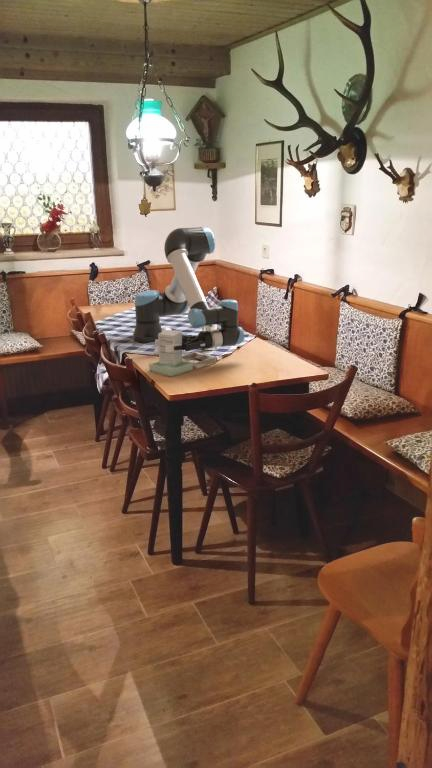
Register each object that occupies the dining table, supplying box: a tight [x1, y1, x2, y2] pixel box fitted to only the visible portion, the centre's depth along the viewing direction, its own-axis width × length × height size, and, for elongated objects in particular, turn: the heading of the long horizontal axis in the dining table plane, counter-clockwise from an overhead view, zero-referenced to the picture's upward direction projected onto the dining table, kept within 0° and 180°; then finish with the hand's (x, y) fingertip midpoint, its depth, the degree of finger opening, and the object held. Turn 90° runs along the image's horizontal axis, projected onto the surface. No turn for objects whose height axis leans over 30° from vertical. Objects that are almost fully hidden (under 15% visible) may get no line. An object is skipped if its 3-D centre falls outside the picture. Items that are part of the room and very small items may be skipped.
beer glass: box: [201, 324, 218, 351], centre depth 277 cm, size 7×7×15 cm
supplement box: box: [158, 329, 183, 365], centre depth 244 cm, size 7×7×13 cm
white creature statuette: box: [153, 326, 172, 356], centre depth 272 cm, size 10×9×12 cm
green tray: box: [148, 360, 194, 378], centre depth 247 cm, size 13×13×3 cm
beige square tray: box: [182, 351, 217, 370], centre depth 257 cm, size 13×13×2 cm
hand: (160, 346), depth 242 cm, fingers closed on supplement box, 10 cm apart
